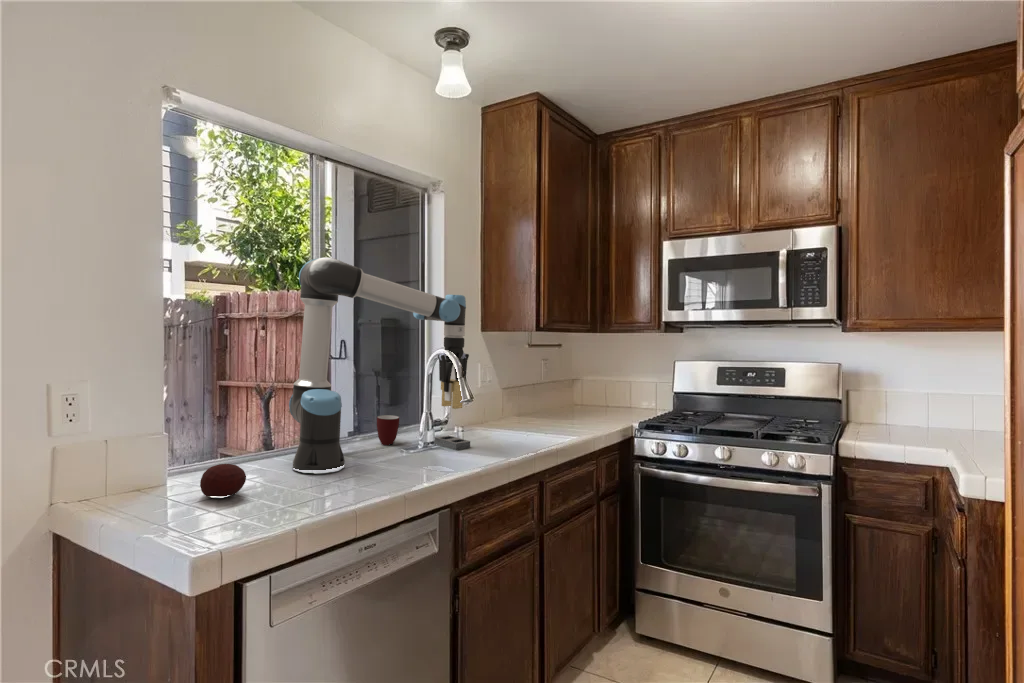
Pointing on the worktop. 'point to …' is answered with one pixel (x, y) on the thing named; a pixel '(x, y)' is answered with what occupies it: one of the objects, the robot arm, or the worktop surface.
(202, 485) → the potato
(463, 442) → the grey flat block
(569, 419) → the worktop surface
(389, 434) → the mug
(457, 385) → the tan wooden arch block
